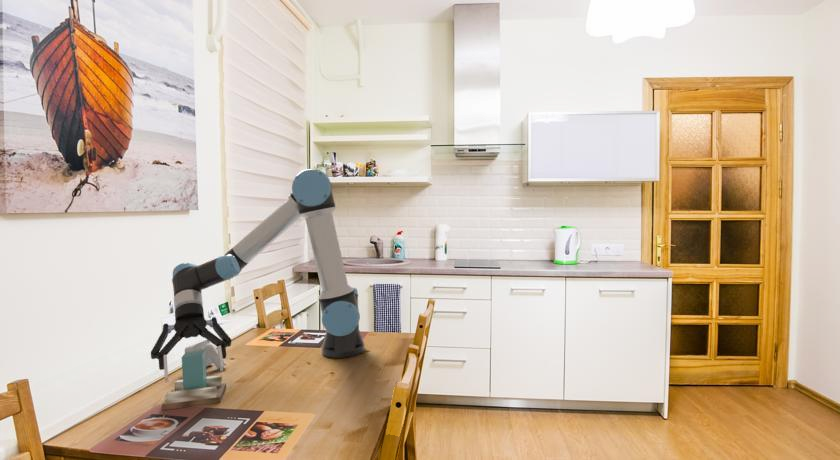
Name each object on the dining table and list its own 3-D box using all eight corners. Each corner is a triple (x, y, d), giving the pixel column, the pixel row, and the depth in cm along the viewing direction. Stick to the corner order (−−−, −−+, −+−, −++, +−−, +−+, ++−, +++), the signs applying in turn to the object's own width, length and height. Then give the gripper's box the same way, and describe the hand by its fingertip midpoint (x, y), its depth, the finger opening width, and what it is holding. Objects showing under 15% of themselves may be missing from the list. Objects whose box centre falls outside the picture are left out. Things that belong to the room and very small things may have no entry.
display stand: (226, 388, 128) (225, 374, 128) (220, 402, 118) (219, 387, 118) (172, 394, 124) (171, 381, 124) (162, 410, 115) (161, 395, 115)
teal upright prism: (207, 388, 124) (205, 350, 124) (204, 394, 120) (202, 355, 120) (187, 391, 123) (185, 352, 122) (183, 397, 119) (181, 357, 118)
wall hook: (218, 372, 140) (210, 341, 140) (191, 378, 142) (183, 348, 142) (234, 363, 148) (226, 334, 148) (208, 369, 150) (200, 340, 150)
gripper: (232, 310, 140) (242, 370, 128) (140, 322, 128) (141, 390, 115) (234, 296, 135) (244, 358, 123) (138, 307, 123) (139, 377, 110)
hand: (195, 374), depth 119 cm, fingers open, 13 cm apart
